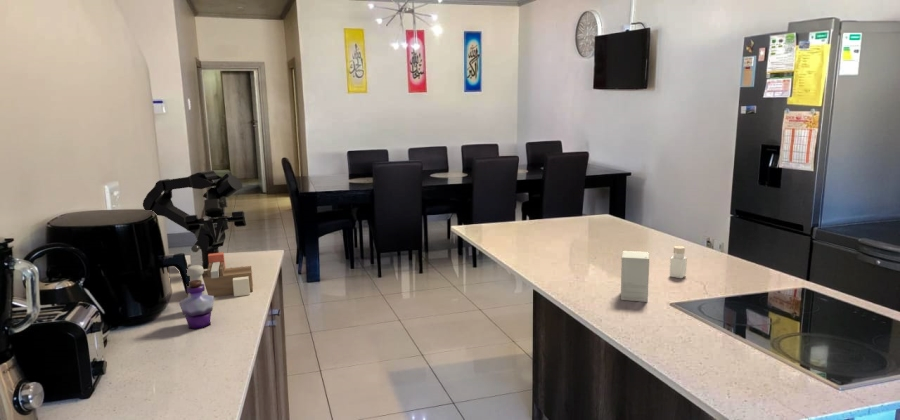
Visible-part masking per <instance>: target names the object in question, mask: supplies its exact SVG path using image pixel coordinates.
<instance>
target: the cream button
mask: <svg viewBox="0 0 900 420" xmlns="http://www.w3.org/2000/svg"><path fill="white" fill-rule="evenodd" d="M233 289H234V294H233V297H243V296H250V294H251V292H250V287H249V276H247V277H238V278H233Z"/></svg>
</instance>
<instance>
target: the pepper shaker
mask: <svg viewBox="0 0 900 420" xmlns="http://www.w3.org/2000/svg"><path fill="white" fill-rule="evenodd" d="M685 250H686V248H685V246H682V245H674V246H673V255H672V256H671V257H670V261H669V264H670V265H669V276H670V277H671V278H677V279H683V278H684V277H686V276H687V262H688V260H687V259H688V258H687V256H685V252H686V251H685Z"/></svg>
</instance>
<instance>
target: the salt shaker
mask: <svg viewBox="0 0 900 420" xmlns="http://www.w3.org/2000/svg"><path fill="white" fill-rule="evenodd" d="M187 268H188V269H187ZM187 268H186V269H185V270H187V273H186V275H187V276H190V281H193V280H201V281H202V282H201V284H204V280H203V277H202V274H203V272H204V271H205V270H204V269H205V268H203V267H202V266H201V265H193V266H191V265H190V266H188V267H187ZM204 287H205V284H204ZM202 295H208V293H207V290H206V287H205V291H203V292H202ZM190 296H191V295H190V293H187V298H188V297H190Z"/></svg>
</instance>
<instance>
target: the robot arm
mask: <svg viewBox="0 0 900 420" xmlns="http://www.w3.org/2000/svg"><path fill="white" fill-rule="evenodd" d="M187 188H191V189H195V190H204V189H208V188H209V189H208V190H206V192H204V194H203V195H202V197H203V198H205V200H204V202H203V203H204V205H203V206H204V215H205V216H203V217H202V218H199V216H198V214H189V213H187V212H185V211H184V210H182V209H180V208H178V207H176V205H174V203H173V200H172V198H173V190H178V189H187ZM242 188H243V184H242V181H241V179H239V178H238V177H237V176H235V175H233V174H232V172H227V173H226V174H224V176H220V175H219V174H217V173H216V172H215V170H213V169H212V170H211V169H210V170H205V171H199V172H196V173H193V174H190V175H189V176H183V177H178V178H171V179H169V178H166V179H165V178H164V179H161V180H158V181H156V182H155V185H154V187H152V189H151V190H150V191H149V192H148V193H147V194H146V196H145V198H144V199H143V201H142V207H143V210H144V209H145V210H152V211H154V212H155V213H156V214H157V215H156V216H160V217H164V218H166V219H168V220H170V221H171V222H173V223H174V224H175V225H178V226H180V227H182V228H183V229H185V230H186V231H188V232H190V233H192V234H194V236H195V238H196V240H197V241H196V242H194V243H195V244H194V245H198V246H199V247H200V249H201V253H202V267H203V269H208V266H209V260H208V254H213V253H220V249H219V248H220V247H223V246H224V244H225V240H226V232H225V231H227V230H229V223H233V224H234V226H235V227H239V228H240V227H246V226H247V219H246V218H247V217H246V213H245V211H243V210H239V211H238V210H235V211H232V212H231V215H226V208H228V199H229V198H231V197H232V196H233V195H235V194H236V193H237V192H239V191H240V190H241V189H242ZM227 198H228V199H227ZM145 210H144V211H145Z"/></svg>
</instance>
